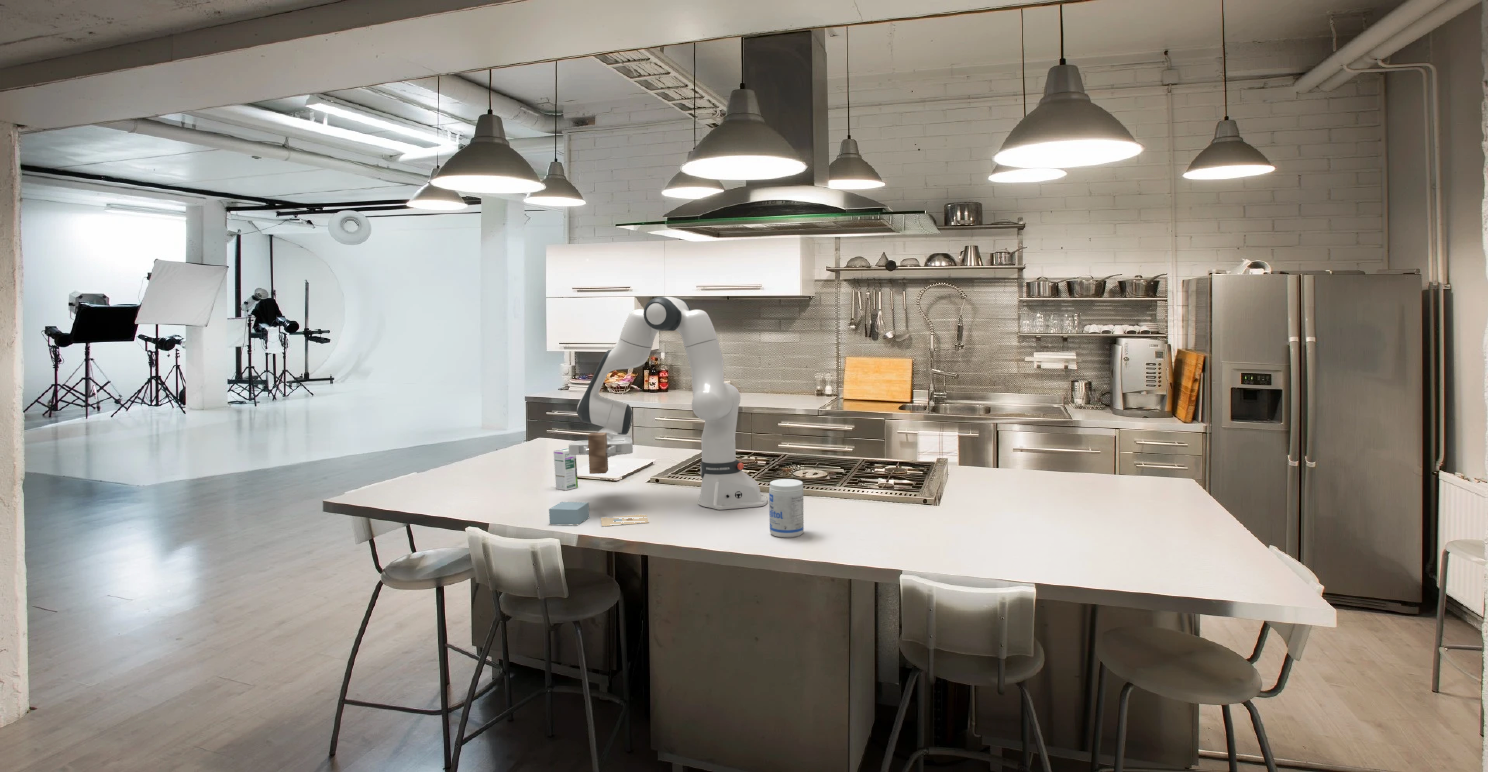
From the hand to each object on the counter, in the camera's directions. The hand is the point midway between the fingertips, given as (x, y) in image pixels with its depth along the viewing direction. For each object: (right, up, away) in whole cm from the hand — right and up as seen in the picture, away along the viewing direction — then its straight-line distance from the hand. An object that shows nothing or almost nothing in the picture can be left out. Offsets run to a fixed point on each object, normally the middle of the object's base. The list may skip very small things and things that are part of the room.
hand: (597, 451), depth 248 cm
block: (0, -6, +2) cm, 7 cm away
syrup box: (-19, -17, +42) cm, 49 cm away
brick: (-8, -21, -4) cm, 23 cm away
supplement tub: (+58, -21, -24) cm, 66 cm away
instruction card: (+9, -21, -5) cm, 23 cm away
